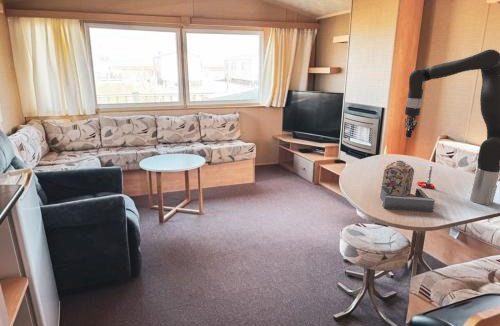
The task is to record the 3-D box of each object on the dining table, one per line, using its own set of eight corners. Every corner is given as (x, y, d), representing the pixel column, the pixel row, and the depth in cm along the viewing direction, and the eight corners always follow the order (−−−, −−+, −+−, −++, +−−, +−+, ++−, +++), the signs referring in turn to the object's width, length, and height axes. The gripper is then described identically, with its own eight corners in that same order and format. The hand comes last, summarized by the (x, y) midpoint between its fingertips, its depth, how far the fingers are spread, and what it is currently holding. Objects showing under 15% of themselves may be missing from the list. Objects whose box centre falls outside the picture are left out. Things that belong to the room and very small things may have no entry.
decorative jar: (411, 193, 179) (416, 161, 174) (402, 199, 171) (407, 166, 166) (389, 187, 187) (394, 157, 182) (379, 192, 179) (384, 160, 174)
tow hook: (414, 182, 197) (420, 187, 188) (418, 161, 194) (424, 165, 185) (430, 184, 196) (436, 189, 187) (433, 162, 193) (440, 166, 184)
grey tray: (377, 196, 174) (378, 184, 172) (421, 199, 171) (423, 187, 169) (384, 208, 160) (385, 196, 158) (432, 212, 157) (435, 199, 155)
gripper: (402, 104, 192) (398, 134, 197) (410, 107, 179) (404, 139, 184) (416, 105, 191) (411, 134, 196) (424, 108, 178) (419, 139, 183)
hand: (408, 136), depth 190 cm, fingers closed
